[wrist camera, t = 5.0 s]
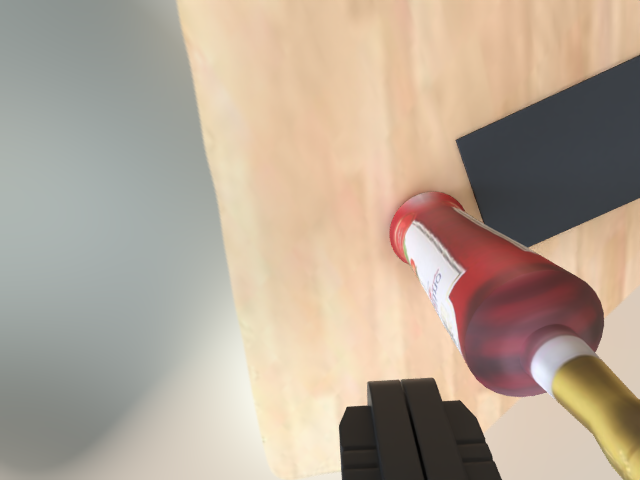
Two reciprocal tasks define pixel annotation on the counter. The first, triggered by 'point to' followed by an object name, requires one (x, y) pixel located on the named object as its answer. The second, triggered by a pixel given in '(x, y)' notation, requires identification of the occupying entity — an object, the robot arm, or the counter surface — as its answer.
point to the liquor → (518, 320)
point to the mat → (559, 158)
